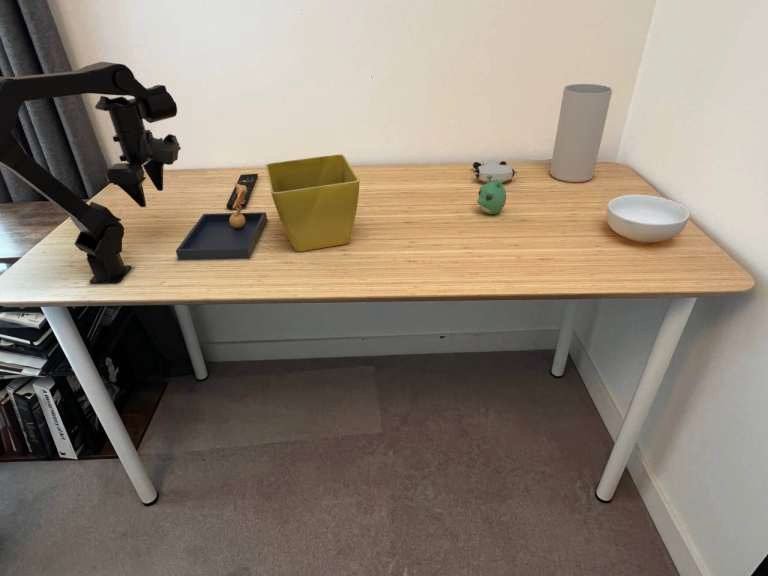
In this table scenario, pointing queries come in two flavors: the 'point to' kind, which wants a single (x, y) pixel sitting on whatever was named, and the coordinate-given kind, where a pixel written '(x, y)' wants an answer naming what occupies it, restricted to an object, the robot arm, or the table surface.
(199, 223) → the tray
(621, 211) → the cereal bowl
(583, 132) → the cylinder vase
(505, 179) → the robot toy
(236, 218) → the figurine
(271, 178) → the flower pot
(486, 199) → the alien toy
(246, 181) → the remote control
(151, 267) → the table surface
